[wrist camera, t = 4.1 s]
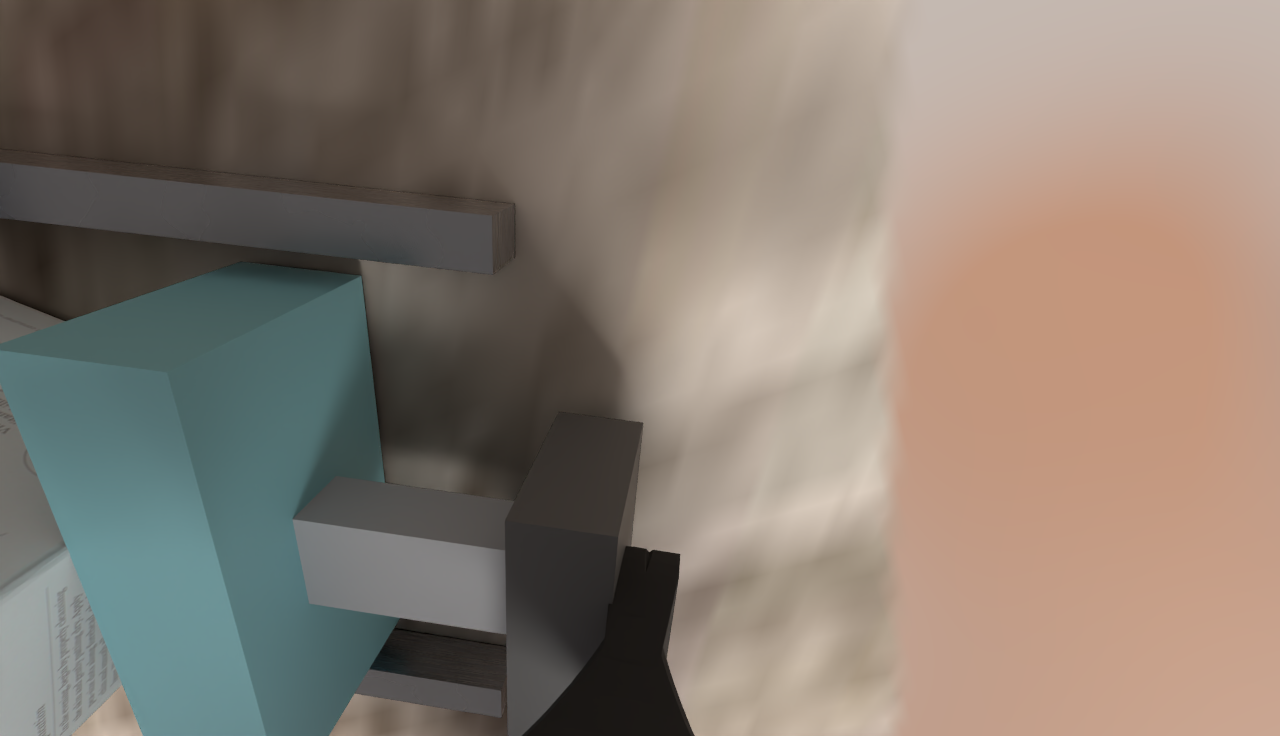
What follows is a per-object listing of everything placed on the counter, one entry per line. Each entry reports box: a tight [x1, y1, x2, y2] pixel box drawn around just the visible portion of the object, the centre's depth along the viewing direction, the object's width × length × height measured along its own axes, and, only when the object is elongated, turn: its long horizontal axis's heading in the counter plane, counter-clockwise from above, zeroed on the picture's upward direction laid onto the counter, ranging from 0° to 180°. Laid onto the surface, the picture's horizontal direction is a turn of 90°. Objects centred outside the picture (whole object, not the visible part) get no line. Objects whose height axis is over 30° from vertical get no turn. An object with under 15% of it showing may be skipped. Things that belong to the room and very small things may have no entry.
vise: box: [0, 149, 515, 718], centre depth 14 cm, size 15×19×6 cm
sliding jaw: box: [0, 262, 643, 736], centre depth 14 cm, size 11×10×6 cm
